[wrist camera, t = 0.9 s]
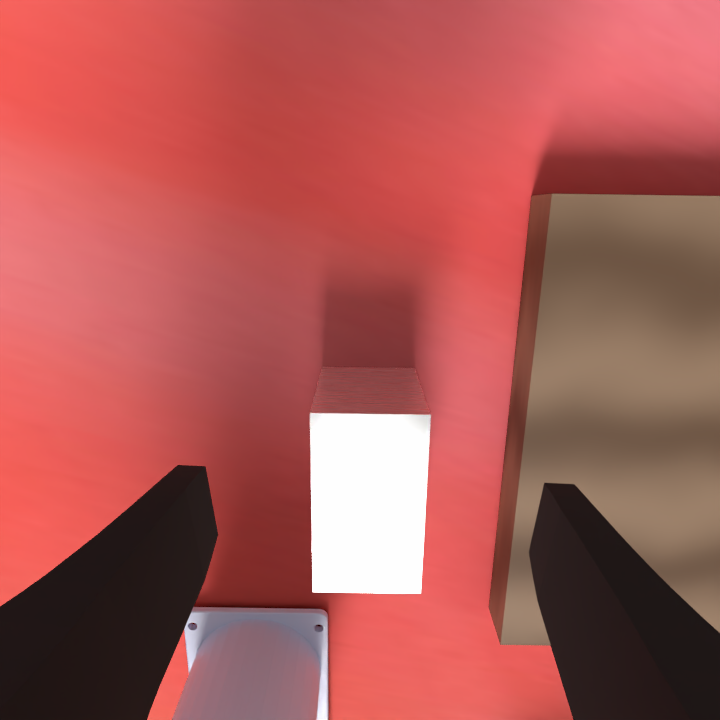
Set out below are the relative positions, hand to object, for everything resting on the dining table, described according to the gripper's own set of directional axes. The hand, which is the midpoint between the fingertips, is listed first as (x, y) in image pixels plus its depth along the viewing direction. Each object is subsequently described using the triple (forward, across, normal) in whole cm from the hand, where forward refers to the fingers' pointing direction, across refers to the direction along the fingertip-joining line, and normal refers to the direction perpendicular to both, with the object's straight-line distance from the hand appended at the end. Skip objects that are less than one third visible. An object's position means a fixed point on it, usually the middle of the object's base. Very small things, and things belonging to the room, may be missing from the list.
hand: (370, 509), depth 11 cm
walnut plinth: (+13, -12, +7) cm, 19 cm away
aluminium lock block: (+13, +1, +8) cm, 15 cm away
